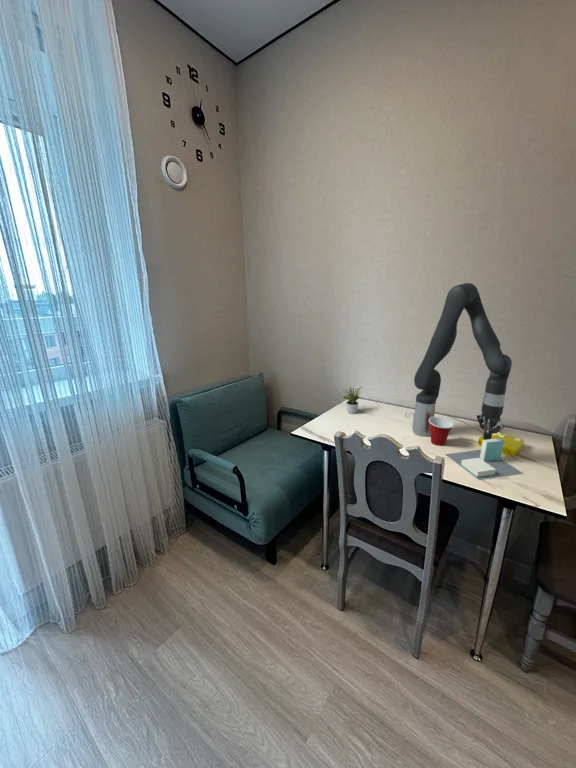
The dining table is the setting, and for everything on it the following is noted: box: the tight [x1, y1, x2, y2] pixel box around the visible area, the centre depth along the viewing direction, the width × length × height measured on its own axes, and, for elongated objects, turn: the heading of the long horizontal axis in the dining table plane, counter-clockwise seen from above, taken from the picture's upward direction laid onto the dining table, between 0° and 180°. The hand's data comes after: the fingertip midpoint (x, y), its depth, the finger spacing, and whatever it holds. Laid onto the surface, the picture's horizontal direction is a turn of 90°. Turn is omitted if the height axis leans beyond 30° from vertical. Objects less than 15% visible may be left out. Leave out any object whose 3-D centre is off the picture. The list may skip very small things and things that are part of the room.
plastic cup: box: [429, 416, 455, 447], centre depth 149 cm, size 11×11×12 cm
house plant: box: [340, 386, 363, 415], centre depth 190 cm, size 14×14×16 cm
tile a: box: [460, 458, 496, 479], centre depth 128 cm, size 2×8×9 cm
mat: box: [445, 449, 524, 481], centre depth 133 cm, size 20×20×1 cm
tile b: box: [480, 438, 504, 462], centre depth 135 cm, size 2×8×9 cm, turn 101°
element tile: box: [477, 431, 525, 457], centre depth 147 cm, size 15×15×5 cm
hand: (486, 440), depth 137 cm, fingers closed
